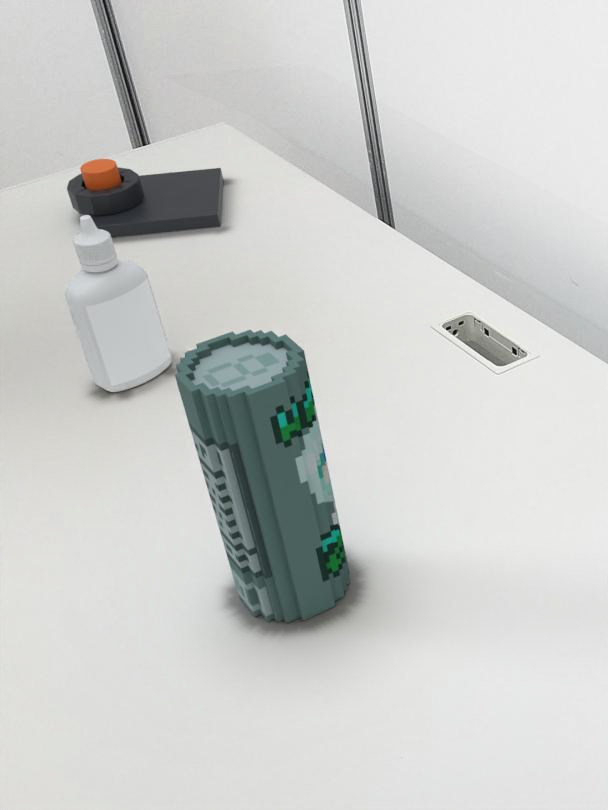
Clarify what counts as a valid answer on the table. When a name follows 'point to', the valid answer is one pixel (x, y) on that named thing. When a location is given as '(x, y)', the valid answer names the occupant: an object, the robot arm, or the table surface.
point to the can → (266, 471)
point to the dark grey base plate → (152, 202)
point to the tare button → (100, 174)
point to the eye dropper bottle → (115, 314)
